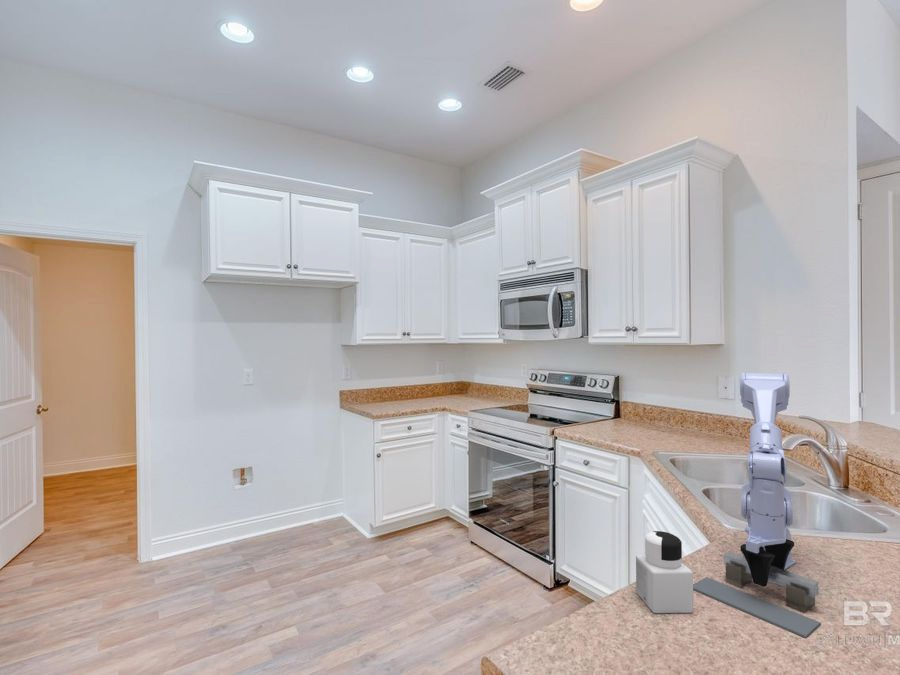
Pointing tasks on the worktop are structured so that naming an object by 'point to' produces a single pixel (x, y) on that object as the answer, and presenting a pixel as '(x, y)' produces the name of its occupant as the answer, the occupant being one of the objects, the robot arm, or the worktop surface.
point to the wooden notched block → (737, 576)
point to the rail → (776, 575)
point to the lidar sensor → (664, 575)
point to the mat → (757, 607)
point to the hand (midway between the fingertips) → (768, 579)
